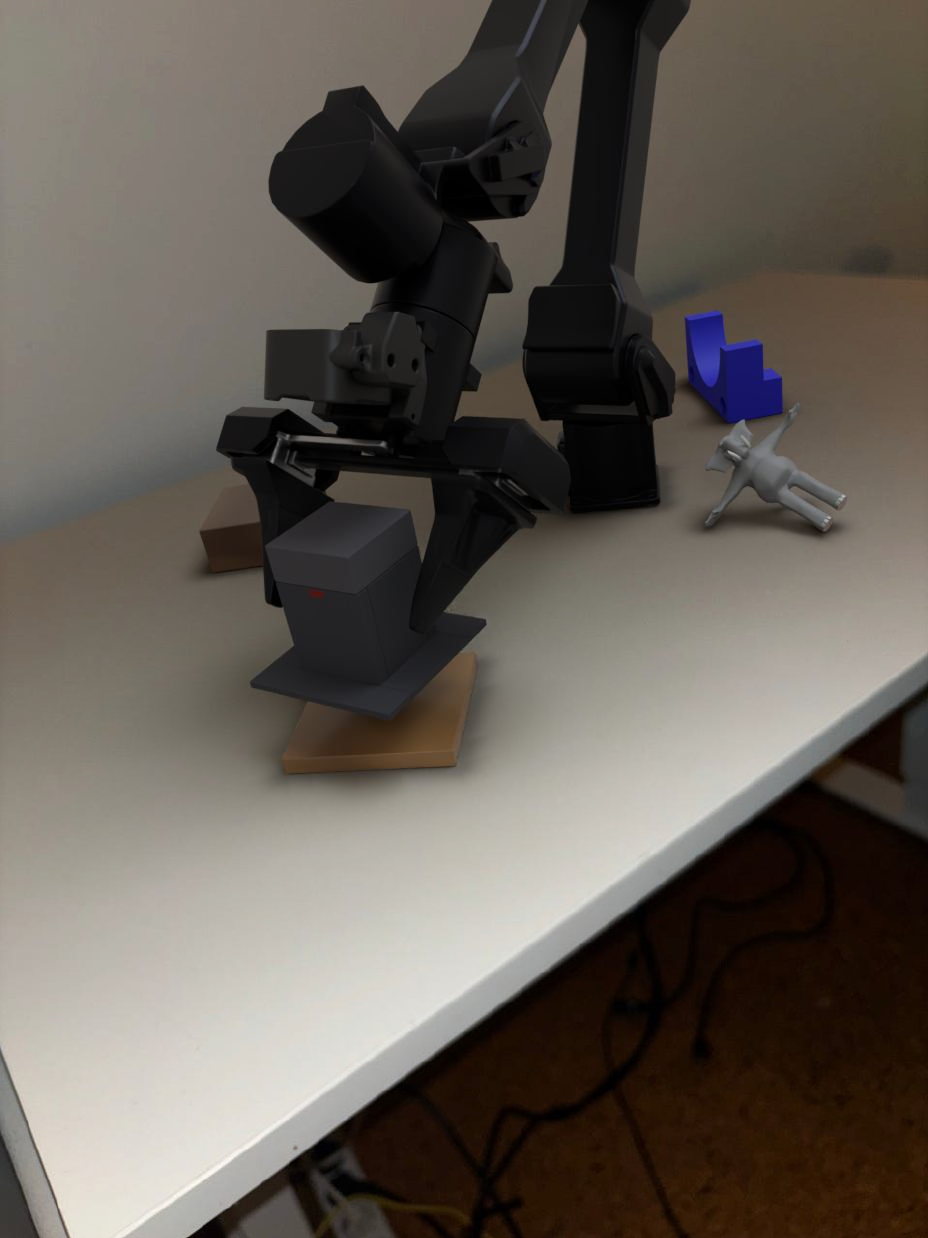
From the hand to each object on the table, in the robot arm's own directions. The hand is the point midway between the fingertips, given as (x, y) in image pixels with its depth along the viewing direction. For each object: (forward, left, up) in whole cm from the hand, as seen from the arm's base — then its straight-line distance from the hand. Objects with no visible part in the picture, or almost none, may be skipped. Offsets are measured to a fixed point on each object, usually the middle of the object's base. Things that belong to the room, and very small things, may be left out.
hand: (341, 618), depth 51 cm
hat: (-1, -1, -3) cm, 3 cm away
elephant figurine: (-24, -22, -7) cm, 33 cm away
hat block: (+13, -25, -7) cm, 30 cm away
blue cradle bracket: (-23, -46, -7) cm, 52 cm away
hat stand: (-1, -1, -7) cm, 7 cm away
